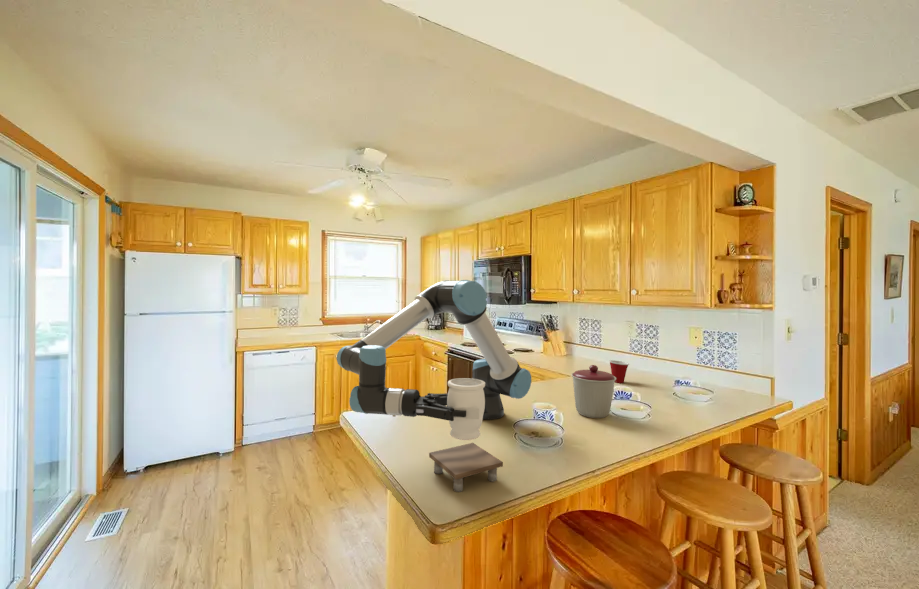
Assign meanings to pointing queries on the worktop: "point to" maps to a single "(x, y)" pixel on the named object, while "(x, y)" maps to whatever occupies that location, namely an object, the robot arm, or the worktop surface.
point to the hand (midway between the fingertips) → (481, 407)
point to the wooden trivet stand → (465, 463)
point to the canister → (593, 392)
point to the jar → (469, 396)
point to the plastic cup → (618, 370)
